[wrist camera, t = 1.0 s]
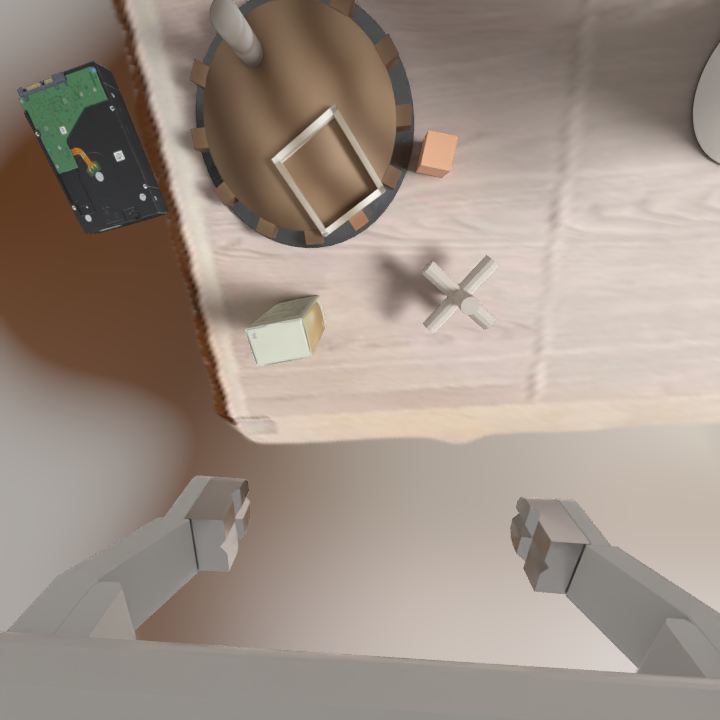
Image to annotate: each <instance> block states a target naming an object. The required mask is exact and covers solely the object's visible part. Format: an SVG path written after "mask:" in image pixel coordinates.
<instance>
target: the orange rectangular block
mask: <svg viewBox="0 0 720 720" xmlns="http://www.w3.org/2000/svg"><path fill="white" fill-rule="evenodd" d="M458 138H459V136H455V135H450V134H445V133H440V132H436V131H431V130H428V132H427V134H426V136H425V138H424V140H423V142H422V146H421V151H420V155H419V160H418V165H417V169H416V173H421V174H426V175H431V176H436V177H441V178H442V177H443V176H444V175H446V174H447V173H448V172H450V170H451V166H452V162H453V158H454V154H455V150H456V146H457V142H458Z"/></svg>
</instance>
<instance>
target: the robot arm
mask: <svg viewBox="0 0 720 720" xmlns="http://www.w3.org/2000/svg"><path fill="white" fill-rule="evenodd" d="M693 124H694V130H695V134H696V137H697V140H698V142H699V144H700V146H701V147H702V149H703V150H704V152H705V153H706V154H707V155H708V156H709V157H710V158H712V159H713V160H715V161H716V162H718V163H720V43H719V44H718V46H717V47H716V49H715V50H714V52H713V54H712V55H711V57H710V59H709V60H708V62H707V64H706V66H705V68H704V71H703V73H702V75H701V78H700V80H699V83H698V86H697V90H696V94H695V99H694V106H693ZM248 492H249V483H248V481H247V480H246V479H235V478H223V477H208V476H196V477H194V478H193V479H192V480H191V481H190V483H189V484H188V486H187V487H186V488H185V489H184V491H183V492H182V494H181V495H180V496H179V498H178V499H177V500H176V502H175V503H174V504H173V506H172V507H171V509H170V510H169V511H168V513H167V514H166V515H165V517H164V518H163V517H158V518H157V519H155V520H153V521H151V522H150V523H148V524H146V525H145V526H143V527H141V528H139V529H138V530H136V531H135V532H133V533H131V534H129V535H127V536H126V537H124V538H122V539H120V540H119V541H117V542H115V543H114V544H112V545H110V546H108V547H107V548H105V549H103V550H102V551H100V552H98V553H96V554H95V555H93V556H91V557H89V558H88V559H86V560H84V561H83V562H81V563H79V564H77V565H76V566H74V567H72V568H71V569H69V570H67V571H65V572H64V573H62V574H60V575H59V576H57V577H56V578H55V579H54V580H53V582H52V583H51V584H50V585H49V586H48V587H47V588H46V589H45V590H44V591H43V592H42V593H41V594H40V596H39V597H38V598H37V599H36V600H35V601H34V602H33V603H32V604H31V605H30V606H29V607H28V609H27V610H26V611H25V612H24V613H23V614H22V615H21V616H20V617H19V619H17V621H16V622H15V623H14V624H13V625H12V626H11V627H10V628H9V629H8V630H7V631H6V632H3V631H0V720H720V613H718V612H717V611H715V610H714V609H712V608H711V607H709V606H708V605H706V604H705V603H703V602H702V601H700V600H698V599H697V598H695V597H694V596H692V595H691V594H689V593H688V592H686V591H685V590H683V589H682V588H680V587H679V586H677V585H675V584H674V583H672V582H671V581H669V580H668V579H666V578H665V577H663V576H661V575H660V574H659V573H657V572H655V571H654V570H652V569H651V568H649V567H648V566H646V565H645V564H643V563H642V562H640V561H639V560H637V559H636V558H634V557H632V556H631V555H629V554H628V553H626V552H625V551H623V550H622V549H620V548H619V547H614V546H611V545H610V543H609V542H608V541H607V540H606V538H605V537H604V536H603V535H602V533H601V532H600V531H599V530H598V528H597V527H596V526H595V525H594V523H593V522H592V521H591V519H590V518H589V517H588V516H587V514H586V513H585V512H584V510H583V509H582V508H581V507H580V505H579V504H578V503H577V502H576V501H574V500H573V499H550V498H549V499H548V498H532V497H531V498H530V497H520V498H519V500H518V501H517V505H516V509H517V510H518V512H519V514H518V515H517V516H515V517H514V518H513V519H512V523H511V527H510V529H511V540H512V543H513V546H514V549H515V551H516V553H517V554H518V555H519V556H520V557H521V558H522V559H524V560H525V564H524V570H525V572H526V575H527V577H528V579H529V581H530V583H531V585H532V587H533V589H534V591H536V592H547V593H558V594H566V596H567V598H569V600H570V601H571V602H572V603H574V605H576V607H577V608H579V609H580V611H581V612H582V613H584V615H585V616H586V617H587V618H589V619H590V621H591V622H592V623H594V624H595V626H596V627H598V628H599V629H600V631H602V632H603V634H604V635H606V637H607V638H608V639H610V640H611V642H612V643H613V644H614V645H615V646H617V648H618V649H619V650H620V651H622V653H624V654H625V656H626V657H628V658H629V659H630V661H631V662H632V663H633V664H634V665H635V666H637V668H638V669H637V671H636V673H624V672H610V671H595V670H580V669H563V668H549V667H534V666H532V667H531V666H518V665H502V664H486V663H471V662H455V661H440V660H425V659H410V658H395V657H380V656H365V655H351V654H335V653H320V652H306V651H290V650H275V649H261V648H260V649H259V648H245V647H230V646H215V645H199V644H185V643H170V642H155V641H140V640H136V636H135V632H134V631H135V630H136V629H137V628H138V627H139V626H140V625H141V624H142V623H143V622H145V621H146V620H147V619H148V618H149V617H150V616H151V615H152V614H153V613H154V612H155V611H156V610H158V609H159V608H160V607H161V606H162V605H163V604H164V603H165V602H166V601H167V600H168V599H169V598H171V597H172V596H173V595H174V594H175V593H176V592H177V591H178V590H179V589H180V588H181V587H182V586H183V585H185V583H187V582H188V581H189V580H190V579H191V578H192V577H193V576H194V575H195V574H196V573H197V572H198V570H201V571H203V570H204V571H229V570H230V568H231V566H232V563H233V561H234V559H235V556H236V554H237V552H238V540H240V539H241V538H242V537H243V536H244V535H245V533H246V530H247V527H248V523H249V519H250V510H251V508H250V501H249V500H248V499H247V498H246V496H247V494H248Z"/></svg>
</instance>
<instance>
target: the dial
mask: <svg viewBox="0 0 720 720" xmlns="http://www.w3.org/2000/svg"><path fill="white" fill-rule="evenodd" d="M354 12H355V0H331V2H330V5H327V4H325V3H321V2H318V1H315V0H274V1H270V2H268V3H265V4H263V5H261V6H258V7H256V8H255V9H253V10H252V11H250V12H248V13H247V14H245V15H244V16H243V15H242V13H241V12H240V10H239V9H238V7H237V6H236V4H235V3H234V1H233V0H214V1H213V2H212V4H211V7H210V19H211V22H212V24H213V26H214V28H215V29H216V30H217V32H218V33H219V34H220V35H221V36H222V38H223V40H222V41H221V43H220V45H219V46H218V48H217V50H216V52H215V54H214V57H213V59H212V61H211V64H210V67H208V66H206V65H205V64H203V63H201V62H199V61H197V60H195V59H194V63H193V68H192V72H191V77H190V80H191V81H192V82H194V83H195V84H196V85H197V86H199V87H200V88H202V89H204V102H203V113H204V126H205V127H203V128H195V129H191V133H192V138H193V142H194V147H195V149H197V150H199V151H201V152H204V153H208V152H210V153H211V155H212V158H213V160H214V163H215V165H216V167H217V169H218V171H219V173H220V175H221V177H222V179H223V180H224V182H223V183H222V184H220V185H219V186H218V187H217V188H216V189H215V190H214V191H215V192H216V194H217V195H218V196H219V197H220V199H221V200H222V201H223V203H224V204H225V205H230V206H233V205H234V204H235V203H237V202H238V201H240V202H241V203H242V204H243V205H244V206H245V207H246V208H247V209H249V210H250V211H251V212H253V213H254V214H255V215H257V216H258V217H260V220H259V223H258V226H257V229H256V231H257V232H259V233H261V234H263V235H265V236H267V237H269V238H275V237H276V235H277V232H278V229H279V227H283V228H286V229H291V230H299V231H304V232H305V240H306V245H313V244H322V243H324V237H326V236H328V235H329V234H330V233H332V232H333V231H334V230H336V229H337V228H338V227H339V226H341V225H342V224H343V223H345V222H346V221H347V220H349V221H350V223H351V224H352V226H353V228H354V229H355V231H356V230H358V229H359V228H361V227H362V226H363V225H365V224H366V223H367V222H369V220H368V218H367V217H366V215H365V214H364V212H363V211H362V209H363V208H365V207H366V206H367V205H368V204H370V203H371V202H372V201H374V200H375V199H376V198H378V197H379V196H380V195H382V194H383V193H384V192H386V189H385V188H384V186H386V187H387V188H389V189H391V190H393V191H394V188H395V186H396V184H397V182H398V180H399V177H400V175H401V173H402V171H400V170H398V169H396V168H394V167H393V166H391V165H390V161H391V157H392V153H393V149H394V143H395V135H396V132H401V131H410V128H411V125H412V124H411V104H403V105H395V98H394V93H393V88H392V84H391V81H390V78H389V75H388V71H389V70H390V69H391V68H392V67H394V66H395V65H396V64H397V63H398V54H399V53H398V51H397V49H396V47H395V45H394V43H393V41H392V40H391V38H390V36H389V34H387V35H386V36H385V37H384V38H383V39H381V40H380V41H379V42H378V43H377V44H376V45H375V46H374V44H373V43H372V41H371V40H370V39H369V37H368V36H367V35H366V34H365V32H364V31H363V30H362V29H361V28H360V27H359V26H358V25H357V24H356V23H355V22H354V21H353V20H352V18H353V15H354ZM383 185H384V186H383ZM323 236H324V237H323Z"/></svg>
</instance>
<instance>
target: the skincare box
mask: <svg viewBox="0 0 720 720" xmlns="http://www.w3.org/2000/svg"><path fill="white" fill-rule="evenodd" d="M325 327H326V321H325V316H324V311H323V307H322V303H321V299H320V296H312V297H306V298H301V299H296V300H291V301H287V302H282V303H278V304H276V305H274V306H273V307H272V308H271V309H270V310H268V311H267V312H266V313H264V314H263V315H262V316H261V317H259V318H258V319H257V320H256V321H254V322H253V323H252V324H251V325H249V326H248V327H247V328H246V329H245V333H246V335H247V339H248V342H249V345H250V348H251V351H252V354H253V357H254V359H255V362H256V364H257V366H266V365H273V364H279V363H284V362H289V361H294V360H299V359H304V358H308V357H311V356H312V354H313V352H314V350H315V348H316V346H317V344H318V342H319V340H320V337H321V335H322V333H323V331H324V329H325Z"/></svg>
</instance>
